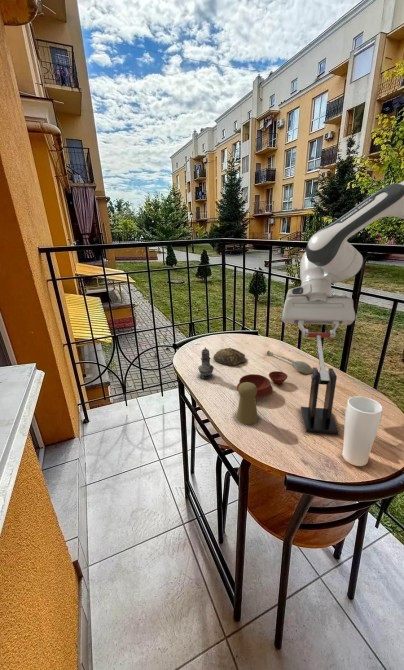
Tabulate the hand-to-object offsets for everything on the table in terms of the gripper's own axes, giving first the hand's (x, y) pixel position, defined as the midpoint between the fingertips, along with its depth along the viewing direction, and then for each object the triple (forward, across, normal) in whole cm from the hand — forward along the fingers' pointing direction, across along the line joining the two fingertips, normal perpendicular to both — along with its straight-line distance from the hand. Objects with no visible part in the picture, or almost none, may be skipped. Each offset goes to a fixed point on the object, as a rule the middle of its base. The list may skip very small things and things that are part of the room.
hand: (318, 336), depth 81 cm
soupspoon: (-3, +5, -34) cm, 34 cm away
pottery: (+12, +15, -18) cm, 27 cm away
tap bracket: (+23, 0, -7) cm, 24 cm away
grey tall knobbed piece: (+8, +36, -23) cm, 43 cm away
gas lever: (+7, 0, 0) cm, 7 cm away
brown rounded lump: (-3, +28, -34) cm, 45 cm away
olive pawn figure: (+24, +20, -7) cm, 32 cm away
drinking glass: (+32, -6, +2) cm, 33 cm away
